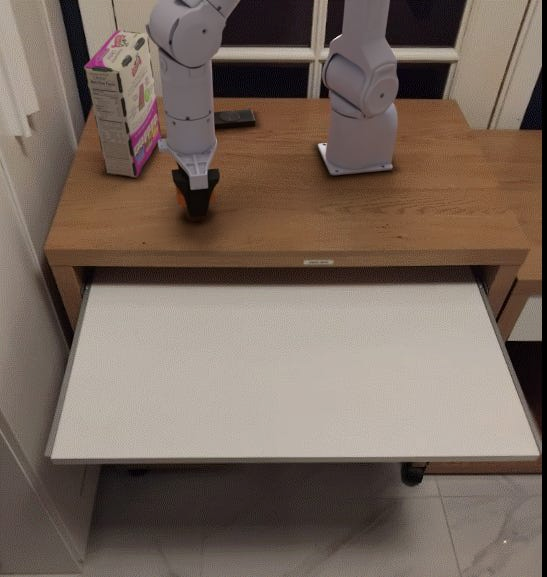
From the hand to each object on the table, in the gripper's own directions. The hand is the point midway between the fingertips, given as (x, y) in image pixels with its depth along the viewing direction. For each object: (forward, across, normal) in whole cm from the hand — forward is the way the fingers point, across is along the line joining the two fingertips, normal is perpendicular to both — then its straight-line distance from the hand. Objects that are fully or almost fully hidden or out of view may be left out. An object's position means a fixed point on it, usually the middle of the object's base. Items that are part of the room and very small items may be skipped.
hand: (195, 202), depth 83 cm
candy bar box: (+2, -16, -8) cm, 17 cm away
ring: (-1, 0, 0) cm, 1 cm away
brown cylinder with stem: (+2, 0, 0) cm, 2 cm away
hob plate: (+2, -23, +8) cm, 24 cm away
